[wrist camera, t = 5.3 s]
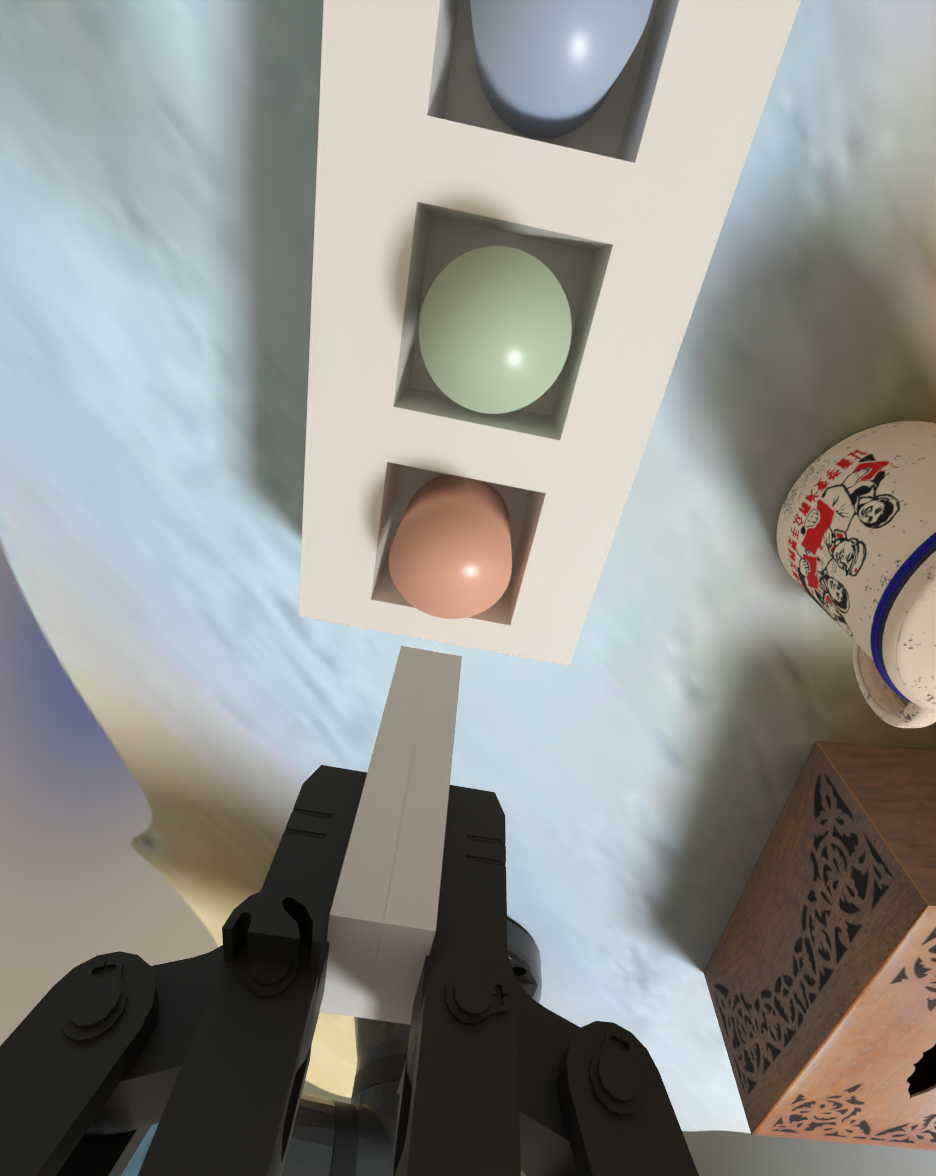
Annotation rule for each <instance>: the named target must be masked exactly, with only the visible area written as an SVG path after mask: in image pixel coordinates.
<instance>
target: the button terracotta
mask: <svg viewBox="0 0 936 1176" xmlns="http://www.w3.org/2000/svg"><path fill="white" fill-rule="evenodd" d="M389 570H390V574H391V578H392V580H393V583H394V585H395V587H396V588H397V590H398V591H399V593H400V594H401V596H402V597H403V598H404V599H405V600H406V601H407V602H408V603H410V604H411V605H412V606H413V607H415V608H417V609H418V610H420V611H422V612H424V613H426V614H429V615H431V616H435V617H439V618H446V619H460V618H467V617H471V616H474V615H477V614H479V613H481V612H483V611H485V610H487V609H488V608H490V607H491V606H492V605H494V604H495V603H496V602H497V601H498V600H499V599H500V598H501V596H502V595H503V593H504V592H505V590H506V588H507V586H508V584H509V581H510V578H511V573H512V554H511V531H510V517H509V513H508V509H507V507H506V504H505V502H504V501H503V499H502V497H501V496H500V495H499V494H498V492H497V491H496V490H495V489H494V488H493V487H491V486H490V485H489V484H487V483H486V482H484V481H481V480H476V479H471V478H466V477H461V476H456V475H451V474H449V475H443V476H439V477H437V478H434V479H432V480H430V481H428V482H427V483H425V484H424V485H423V486H421V487H420V488H419V489H418V490H417V491H416V492H415V494H414V495H413V496H412V498H411V500H410V502H409V504H408V506H407V509H406V511H405V514H404V516H403V518H402V521H401V523H400V526H399V528H398V531H397V533H396V536H395V538H394V540H393V543H392V546H391V549H390V554H389Z"/></svg>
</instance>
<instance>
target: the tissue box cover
mask: <svg viewBox="0 0 936 1176" xmlns="http://www.w3.org/2000/svg"><path fill="white" fill-rule="evenodd" d="M704 975H705V979H706V982H707V985H708V989H709V992H710V996H711V999H712V1002H713V1006H714V1009H715V1012H716V1016H717V1019H718V1023H719V1026H720V1029H721V1033H722V1036H723V1040H724V1043H725V1046H726V1050H727V1053H728V1057H729V1060H730V1063H731V1067H732V1070H733V1074H734V1077H735V1080H736V1084H737V1087H738V1090H739V1094H740V1097H741V1101H742V1104H743V1107H744V1111H745V1114H746V1118H747V1121H748V1124H749V1128H750V1131H751V1135H761V1136H773V1137H785V1138H796V1139H808V1140H819V1141H831V1142H842V1143H854V1144H866V1145H878V1146H890V1147H900V1148H912V1149H923V1150H935V1151H936V750H929V749H915V748H900V747H885V746H871V745H856V744H842V743H827V742H815V744H814V746H813V748H812V750H811V752H810V754H809V757H808V759H807V761H806V763H805V765H804V767H803V769H802V771H801V773H800V775H799V777H798V779H797V781H796V783H795V786H794V788H793V790H792V792H791V794H790V796H789V798H788V800H787V802H786V804H785V806H784V808H783V810H782V812H781V815H780V817H779V819H778V821H777V823H776V825H775V827H774V829H773V831H772V833H771V835H770V837H769V839H768V841H767V844H766V846H765V848H764V850H763V852H762V854H761V856H760V858H759V860H758V862H757V864H756V866H755V868H754V870H753V873H752V875H751V877H750V879H749V881H748V883H747V885H746V887H745V889H744V891H743V893H742V895H741V897H740V899H739V902H738V904H737V906H736V908H735V910H734V912H733V914H732V916H731V918H730V920H729V922H728V924H727V926H726V928H725V930H724V933H723V935H722V937H721V939H720V941H719V943H718V945H717V947H716V949H715V951H714V953H713V955H712V957H711V959H710V962H709V964H708V966H707V968H706V970H705V972H704Z"/></svg>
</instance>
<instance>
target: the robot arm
mask: <svg viewBox="0 0 936 1176" xmlns="http://www.w3.org/2000/svg"><path fill="white" fill-rule="evenodd" d="M461 659H462V657H461V656H455V655H450V654H444V653H438V652H433V651H427V650H421V649H416V648H410V647H405V646H401V649H400V653H399V657H398V661H397V664H396V668H395V672H394V676H393V679H392V683H391V687H390V690H389V694H388V698H387V702H386V705H385V709H384V713H383V717H382V720H381V724H380V728H379V732H378V735H377V739H376V743H375V747H374V750H373V754H372V758H371V762H370V765H369V769H368V773H366V772H360V771H354V770H348V769H342V768H336V767H330V766H324V765H321V766H320V767H319V768H318V769H317V770H316V771H315V772H314V773H313V774H312V775H311V776H310V777H309V778H308V779H307V780H306V781H305V782H304V783H303V785H302V788H301V790H300V793H299V795H298V798H297V800H296V803H295V806H294V809H293V812H292V813H291V816H290V818H289V821H288V823H287V826H286V830H285V833H284V834H283V836H282V839H281V841H280V844H279V846H278V849H277V851H276V854H275V857H274V859H273V862H272V864H271V867H270V869H269V872H268V874H267V877H266V880H265V882H264V885H263V887H262V890H261V892H259V893H256V894H254V895H251V896H250V897H248V898H247V899H246V900H245V901H244V902H242V903H241V904H240V905H239V906H237V907H236V908H235V909H234V910H233V912H232V913H231V915H230V916H229V918H228V919H227V921H226V923H225V924H224V926H223V927H222V934H223V945H222V946H220V947H219V948H217V949H215V950H213V951H211V952H209V953H207V954H203V955H200V956H197V957H194V958H189V959H184V960H179V961H174V962H169V963H164V964H159V965H154V966H150V965H149V964H147V963H146V962H145V961H144V960H143V959H142V958H141V957H139V956H138V955H135V954H129V953H124V952H114V953H109V954H104V955H99V956H96V957H94V958H92V959H90V960H88V961H86V962H84V963H82V964H80V965H79V966H77V967H75V968H74V969H72V970H71V971H70V972H69V973H68V974H67V975H66V976H64V977H63V978H62V979H61V980H60V981H59V982H58V983H57V984H55V985H54V986H53V987H52V989H51V990H50V991H49V992H48V993H47V994H46V995H45V996H44V998H43V999H42V1000H41V1001H40V1002H39V1003H38V1004H37V1005H36V1007H35V1008H34V1009H33V1010H32V1011H31V1012H30V1013H29V1014H28V1016H27V1017H26V1018H25V1019H24V1020H23V1021H22V1023H20V1025H19V1026H18V1027H17V1028H16V1029H15V1030H14V1032H13V1033H12V1034H11V1035H10V1036H9V1037H8V1038H7V1039H6V1041H5V1042H4V1043H3V1044H2V1045H1V1046H0V1176H525V1175H526V1176H699V1175H698V1172H697V1170H696V1167H695V1165H694V1162H693V1159H692V1157H691V1154H690V1151H689V1149H688V1146H687V1144H686V1141H685V1138H684V1136H683V1133H682V1131H681V1128H680V1125H679V1123H678V1120H677V1118H676V1115H675V1112H674V1110H673V1107H672V1105H671V1102H670V1099H669V1097H668V1094H667V1092H666V1089H665V1086H664V1084H663V1081H662V1079H661V1076H660V1073H659V1071H658V1069H657V1067H656V1065H655V1064H654V1062H653V1060H652V1058H651V1056H650V1054H649V1052H648V1051H647V1049H646V1048H645V1047H644V1046H643V1045H642V1044H641V1043H640V1041H639V1040H638V1039H637V1038H636V1037H635V1036H634V1035H633V1034H632V1033H631V1032H629V1031H627V1030H626V1029H624V1028H622V1027H620V1026H618V1025H617V1024H615V1023H611V1022H601V1021H595V1022H593V1023H590V1024H588V1025H586V1026H584V1027H581V1028H580V1027H578V1026H577V1025H575V1024H573V1023H571V1022H569V1021H568V1020H566V1019H564V1018H562V1017H561V1016H559V1015H557V1014H555V1013H553V1012H552V1011H550V1010H548V1009H546V1008H545V1007H543V1006H542V1005H540V1004H539V1001H540V997H541V989H542V980H541V963H540V954H539V950H538V948H537V946H536V944H535V942H534V941H533V940H532V938H531V937H530V936H529V935H528V934H527V933H526V932H525V931H524V930H522V929H521V928H520V927H519V926H517V925H516V924H514V923H512V922H511V921H509V920H507V902H506V867H505V863H506V846H505V814H504V812H503V810H502V808H501V805H500V803H499V801H498V799H497V797H496V794H495V792H489V791H483V790H477V789H471V788H465V787H459V786H453V785H450V775H451V765H452V754H453V743H454V733H455V722H456V712H457V701H458V691H459V680H460V669H461ZM319 1012H325V1013H332V1014H339V1015H346V1016H353V1017H354V1019H355V1034H356V1048H357V1069H356V1075H355V1081H354V1087H353V1092H352V1098H351V1104H347V1103H342V1102H338V1101H334V1100H330V1099H325V1098H321V1097H317V1096H312V1095H307V1094H303V1093H302V1090H303V1086H304V1082H305V1078H306V1074H307V1069H308V1065H309V1061H310V1053H311V1044H312V1040H313V1036H314V1032H315V1028H316V1023H317V1019H318V1015H319Z"/></svg>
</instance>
